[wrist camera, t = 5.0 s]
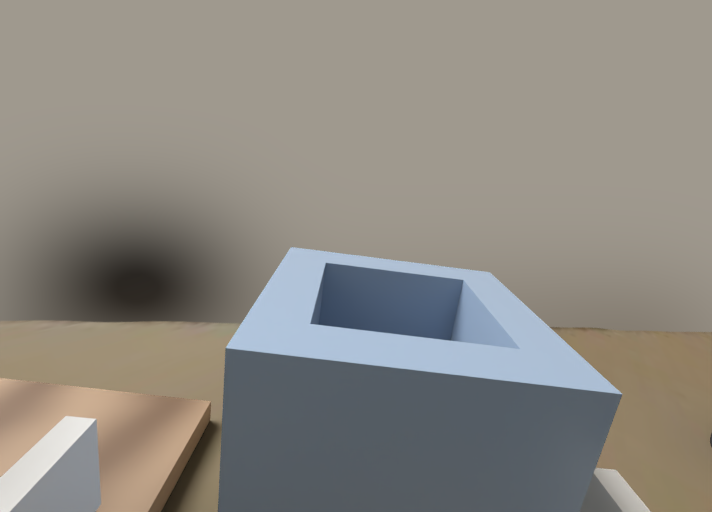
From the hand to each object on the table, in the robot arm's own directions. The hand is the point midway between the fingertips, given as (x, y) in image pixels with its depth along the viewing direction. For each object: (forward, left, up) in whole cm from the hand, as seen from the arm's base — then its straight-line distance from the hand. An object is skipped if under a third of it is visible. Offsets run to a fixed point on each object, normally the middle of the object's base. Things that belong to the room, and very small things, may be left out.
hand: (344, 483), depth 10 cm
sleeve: (-1, 0, -7) cm, 7 cm away
